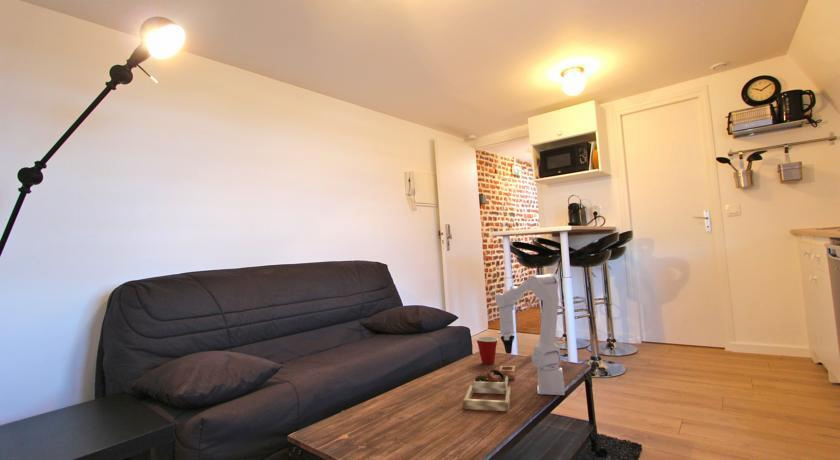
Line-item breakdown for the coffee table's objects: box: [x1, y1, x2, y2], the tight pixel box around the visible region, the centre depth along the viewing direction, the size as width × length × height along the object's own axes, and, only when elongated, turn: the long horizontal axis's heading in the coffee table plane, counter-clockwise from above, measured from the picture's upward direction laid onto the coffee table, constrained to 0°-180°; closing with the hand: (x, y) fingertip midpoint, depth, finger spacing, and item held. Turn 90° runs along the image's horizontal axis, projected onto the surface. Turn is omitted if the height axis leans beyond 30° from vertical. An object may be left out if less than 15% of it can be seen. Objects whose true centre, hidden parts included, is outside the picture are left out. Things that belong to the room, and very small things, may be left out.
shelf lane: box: [462, 384, 512, 412], centre depth 142 cm, size 15×16×3 cm
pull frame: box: [472, 365, 516, 395], centre depth 159 cm, size 15×23×4 cm, turn 164°
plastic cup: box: [475, 336, 499, 366], centre depth 188 cm, size 11×11×12 cm
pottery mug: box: [474, 368, 505, 382], centre depth 152 cm, size 12×10×8 cm
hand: (508, 353), depth 168 cm, fingers closed
